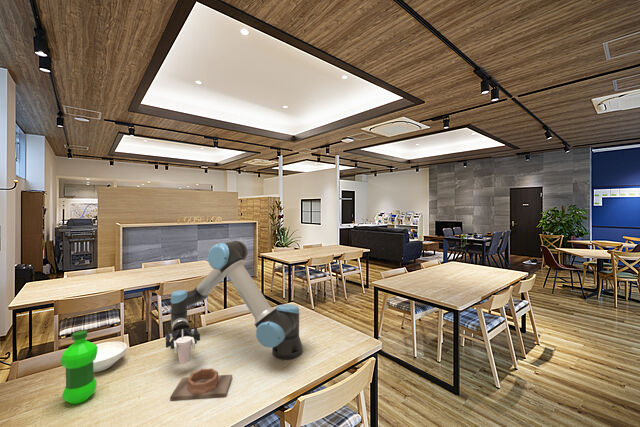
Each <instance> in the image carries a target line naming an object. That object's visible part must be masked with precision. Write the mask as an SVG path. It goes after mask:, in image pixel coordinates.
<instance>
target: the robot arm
mask: <svg viewBox="0 0 640 427" xmlns="http://www.w3.org/2000/svg"><path fill="white" fill-rule="evenodd" d="M248 252H249V251H248V247H247V245H246V244H245V243H244V242H242V241H241V240H234V241H233V240H232V241H227V242H219V243H217V244H214V245H213V246H211V248H210V249H209V251H208V256H207V261H208V264H209V266H210V267H211V268H212V270H210V272H209V273H208V274H207V275H206V277H204V278H203V279H202V280H201V281H200V282H199V284H197V286H195V288H194V289H192V290H188V291H187V290H185V289H182V290H181V289H180V290H175V291H173V292H172V293H171V295H170V326H171V333H168V332H167V333H165V337H164V338H165V347H166V348H169V347H170V350H173V351H174V352H173V353H174V354H175V355H176V354H178V350H177V344H176V340H177V339H178V338H181V337H182V329H183V337H185V336H189V337H191V338H192V341H191V346H192V350H195V349H196V345H197V344H198V342H197V341H201V334H200V332H199V331H198V327H194V328H193V329H192V328H190V324H189V320H188V307H190V306H193V305H195V304H198V303H201V302H203V301H205V300H206V299H208V297H209V294H210V293H211V292H212V291H213V289H215V288H216V287H217V286H218V285H219V284H220V282H222V281H223V280H224V278H226V277H227V278H228V279H229V281H230V283H231V284H232V285H233V287H234V288H235V290H236V292H237V293H238V295H239V296H240V298H241V300H242V301H243V303H244V304H245V305H246V307H247V308H248V310H249V312H250V313H251V315H252V316H253V318H254V326H255V328H256V330H255V333H256V334H255V337H256V339H257V342H259V344H261V345H262V346H263V347H266V348H272V350H271V351H272V352H271V354H272V356H274V357H275V358H277V359H281V360H293V359H296V358H298V357H300V356H301V355H302V354H303V352H304V351H303V347H304V346H303V344H302V341H301V340H302V339H301V337H300V315H301V313H300V308H299V306H298V305H295V304H290V303H287V304H279V305H276V307H272V306H271V305H270V303H269V302H268V301H267V299H266V298H265V295H263V292H261V290H260V288H259V287H258V285H257V284H256V282H255V281H254V280H253V278H252V276H251V275H250V274H249V272H248V271H247V268H246V267H245V266H244V263H245V260H246V259H247V257H248V254H249V253H248ZM171 338H172V339H171Z"/></svg>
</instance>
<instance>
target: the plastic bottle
mask: <svg viewBox="0 0 640 427" xmlns="http://www.w3.org/2000/svg"><path fill="white" fill-rule="evenodd" d="M71 335H72V336H71V339H72V341H73V343H72V344H71V345H69V346H68V348H67V349H65V350H64V351H63V353H62V356H61V358H60V364H61V366H62V367H64V368H65V387H64V390H63V392H62V396H61V397H62V399H63V401H64V402H67V403H69V404H72V405H78V404H81V403H83V402H85V401H87V400H88V399H89V398H90V397H91V396H92V395H93V394H94V393H95V391H96V389H97V382H98V381H97V379H96V378H95V377H94V372H93V361H94V360H95V358H96V355H97V351H98V347H97V346H96V344H95V343H93V342H91V341H89V340H86V338H87V337H88V330H85V329H84V330H79V331H75V332H73V333H72V334H71Z"/></svg>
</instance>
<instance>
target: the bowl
mask: <svg viewBox="0 0 640 427" xmlns="http://www.w3.org/2000/svg"><path fill="white" fill-rule="evenodd" d="M95 345H96V346H97V347H98V351H97V355H96V358H95V360H94V361H93V373H98V372H99V373H100V372H102V371H105V370H107V369H108V368H110V367H112V366H113V365H114V364H115V363H116V362H117V361H118V360H120V359H121V358H122V357H124V355H125V354H126V352H127V346H128V345H127V343H125V342H122V341H106V342H101V343H96V344H95Z"/></svg>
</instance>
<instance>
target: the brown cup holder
mask: <svg viewBox="0 0 640 427" xmlns="http://www.w3.org/2000/svg"><path fill="white" fill-rule="evenodd" d="M232 380H233V374H221V375H219V371H217V370H215V369H214V368H201V369H198V370H196V371H193V373H192V372H191V373H190V375H189V377H188V376H187V377H181V379H180V381H179V382H178V384H177V385H176V386H175V389H174V390H173V391H172V393H171V395H170V397H169V401H170V402H174V401H175V402H176V401H189V400H202V399H203V400H204V399H214V398H215V399H216V398H227V394H228V392H229V389H230V385H231V383H232Z"/></svg>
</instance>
